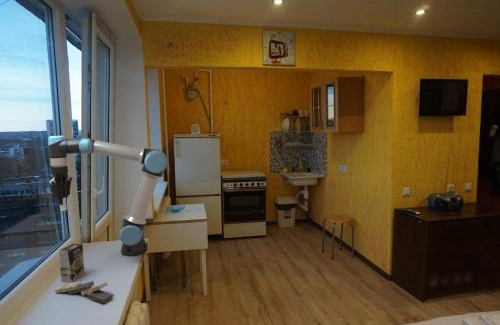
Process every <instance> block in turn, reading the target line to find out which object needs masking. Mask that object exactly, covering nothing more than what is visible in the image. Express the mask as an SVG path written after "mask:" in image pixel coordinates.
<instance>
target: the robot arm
mask: <svg viewBox="0 0 500 325" xmlns="http://www.w3.org/2000/svg"><path fill="white" fill-rule="evenodd" d="M47 141H48V142H47V143H48V144H47V145H48V152H49V160H50V161H49V162H50V172H51V175H52V177H51V180H49V181H47V182H48V184H49V186H50V189H51V191H52V195H53V198H54V199H58V205H59V209H60V210H59V211H61V212H63V211H64V212H66V211H67V210H68V208H67V203H68V198H69V196H70V195H71V186H72V181H73V177H71V176H69V174H68V173H69V167H68V163H69V162H68V155H70V154H71V155H72V154H75V155H76V154H84V155H85V154H96V155H102V156H106V157H112V158H118V159H123V160H128V161H134V162H138V163H140V164H141V165H142V168H141V173H142V177H141V179H140V182H139V185H138V188H137V191H136V192H135V193H136V194H135V197H134V199H133V203H132V206H131V209H130V211H129V213H127V214H124V215H123V216H121V221H122V222H121V223H122V224H121V228H120V231H119V234H118V235H119V236H118V237H119V239H120V241H121V243H122V244H121V247H120V254H121V255H122V256H125V257H134V256H139V255H142V254H143V255H144V254H145V253H146V252H147V251H148V244H147V242H146V239H145V236H144V235H145V234H144V233H145V231H144V230H145V227H146V224H147V220H146V215H147V213H148V210H149V207H150V204H151V201H152V198H153V195H154V193H155V189H156V187H157V184H158V181H159V180H160V179H161V178H162V177H163V175H164V172H165V169H166V168H167V166H168V158H167V155H166V153H165V152H164V151H162V150H161V149H157V148H156V149H155V148H147V147H143V148H138V147H133V146H126V145H123V144H117V143H112V142H106V141H102V140H97V139H96V140H95V139H91V138H90V137H81V138H74V139H66V137H65V135H51V136H49V137H48V140H47Z"/></svg>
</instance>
